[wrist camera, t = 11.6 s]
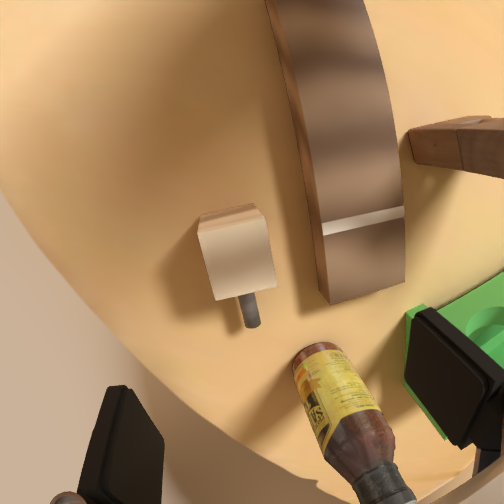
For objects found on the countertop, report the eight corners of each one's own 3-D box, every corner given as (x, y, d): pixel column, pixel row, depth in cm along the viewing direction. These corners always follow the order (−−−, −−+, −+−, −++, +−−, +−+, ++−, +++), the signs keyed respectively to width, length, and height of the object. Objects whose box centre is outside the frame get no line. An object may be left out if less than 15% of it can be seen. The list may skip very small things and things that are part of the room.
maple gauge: (200, 215, 25) (197, 233, 20) (252, 203, 25) (265, 218, 20) (226, 317, 29) (231, 355, 23) (272, 306, 29) (287, 341, 23)
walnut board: (264, -1, 20) (271, -17, 17) (345, 0, 20) (359, -13, 17) (319, 290, 29) (330, 305, 26) (389, 270, 29) (405, 282, 26)
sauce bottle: (282, 353, 31) (347, 524, 12) (337, 329, 31) (436, 480, 12) (298, 390, 33) (355, 537, 14) (347, 370, 33) (426, 503, 14)
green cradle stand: (402, 384, 36) (444, 440, 25) (403, 310, 32) (466, 369, 21) (507, 317, 37) (551, 351, 26) (517, 248, 33) (572, 276, 21)
